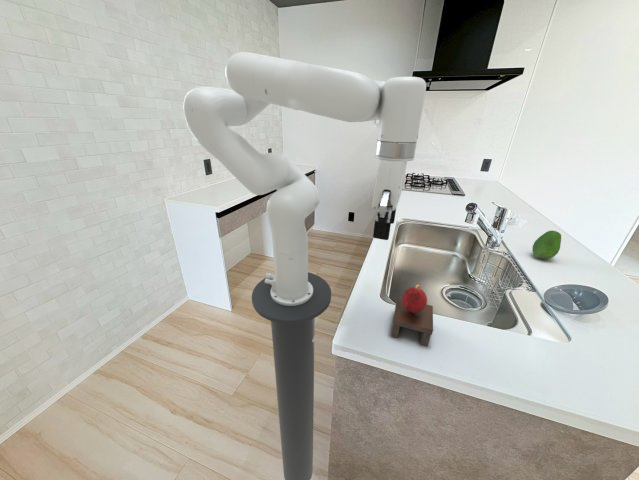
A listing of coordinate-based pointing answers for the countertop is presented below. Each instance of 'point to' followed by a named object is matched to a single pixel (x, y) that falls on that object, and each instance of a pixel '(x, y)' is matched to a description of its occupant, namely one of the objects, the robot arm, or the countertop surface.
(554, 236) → the avocado
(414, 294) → the onion
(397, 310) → the stand
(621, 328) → the countertop surface
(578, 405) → the countertop surface
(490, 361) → the countertop surface
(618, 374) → the countertop surface
